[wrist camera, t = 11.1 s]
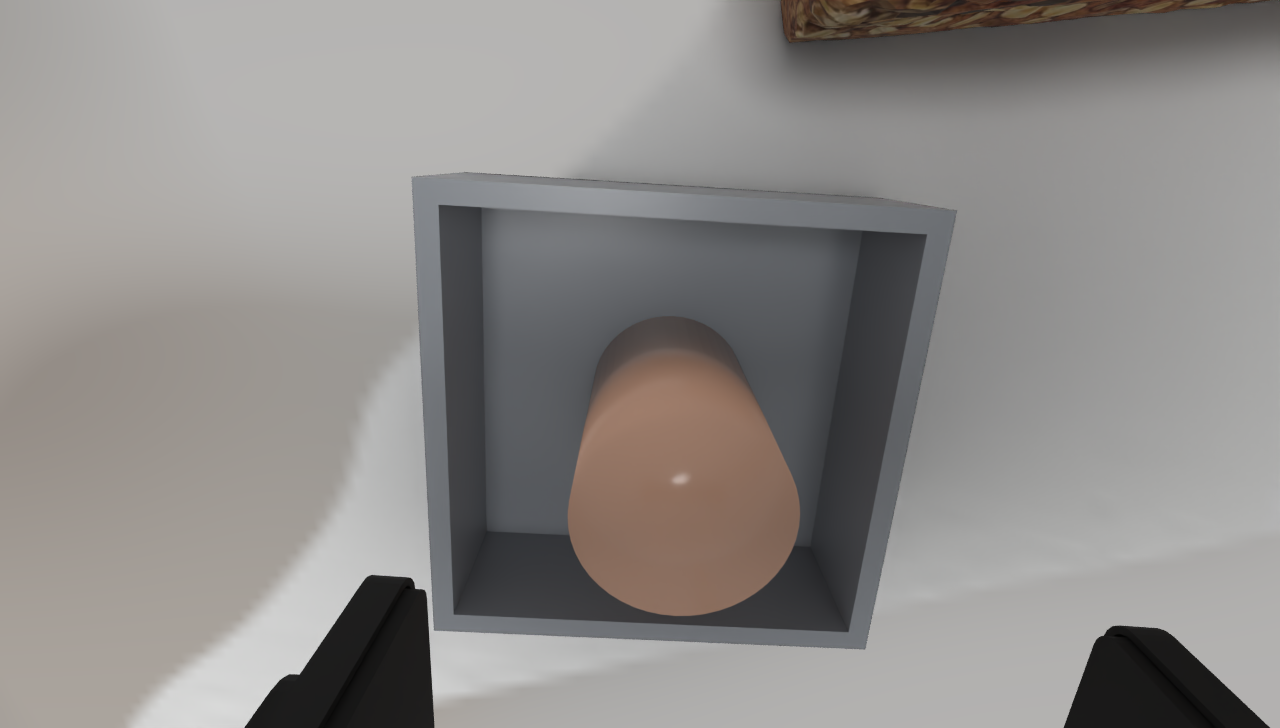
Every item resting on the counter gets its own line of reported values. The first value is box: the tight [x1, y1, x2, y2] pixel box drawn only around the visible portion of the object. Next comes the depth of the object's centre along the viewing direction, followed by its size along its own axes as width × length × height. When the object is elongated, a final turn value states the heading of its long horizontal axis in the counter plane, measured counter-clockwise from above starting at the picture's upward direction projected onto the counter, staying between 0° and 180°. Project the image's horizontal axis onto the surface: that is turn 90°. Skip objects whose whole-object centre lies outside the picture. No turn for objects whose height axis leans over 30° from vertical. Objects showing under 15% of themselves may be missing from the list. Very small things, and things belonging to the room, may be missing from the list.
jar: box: [568, 316, 800, 616], centre depth 17 cm, size 5×5×8 cm
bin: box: [412, 172, 957, 649], centre depth 19 cm, size 13×13×5 cm
